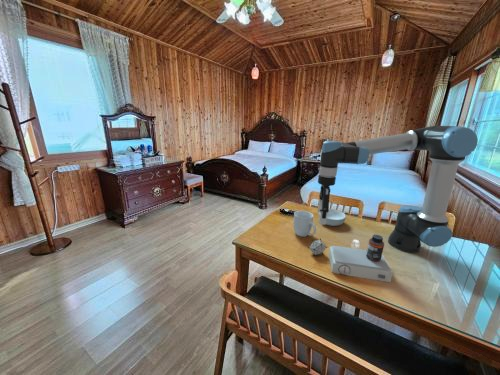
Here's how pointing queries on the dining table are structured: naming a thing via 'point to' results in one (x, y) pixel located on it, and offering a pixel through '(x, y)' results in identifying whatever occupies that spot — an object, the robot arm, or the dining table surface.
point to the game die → (317, 247)
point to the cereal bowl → (334, 217)
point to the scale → (358, 264)
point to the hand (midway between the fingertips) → (321, 217)
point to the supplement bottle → (375, 248)
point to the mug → (303, 223)
